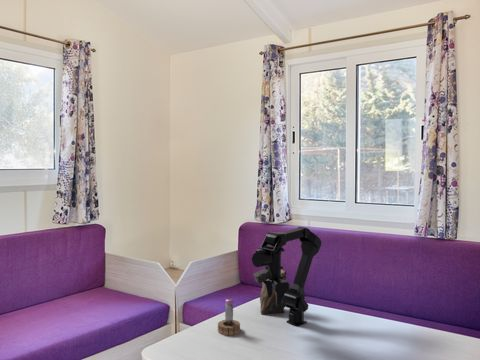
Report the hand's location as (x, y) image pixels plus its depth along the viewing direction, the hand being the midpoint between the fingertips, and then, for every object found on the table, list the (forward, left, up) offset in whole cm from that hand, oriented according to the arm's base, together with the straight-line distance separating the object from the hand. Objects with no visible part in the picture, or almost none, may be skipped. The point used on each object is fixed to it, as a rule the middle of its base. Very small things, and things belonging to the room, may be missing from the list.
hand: (273, 300), depth 174 cm
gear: (+13, -13, -13) cm, 22 cm away
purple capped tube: (+13, -13, -13) cm, 22 cm away
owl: (-17, -18, -13) cm, 28 cm away
